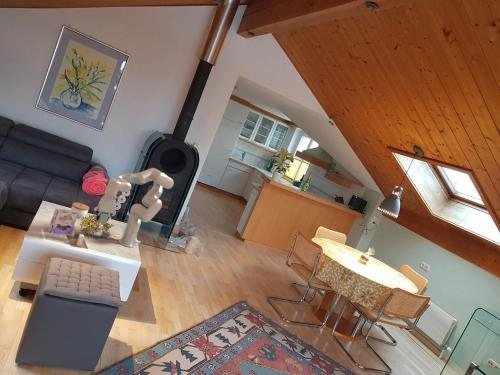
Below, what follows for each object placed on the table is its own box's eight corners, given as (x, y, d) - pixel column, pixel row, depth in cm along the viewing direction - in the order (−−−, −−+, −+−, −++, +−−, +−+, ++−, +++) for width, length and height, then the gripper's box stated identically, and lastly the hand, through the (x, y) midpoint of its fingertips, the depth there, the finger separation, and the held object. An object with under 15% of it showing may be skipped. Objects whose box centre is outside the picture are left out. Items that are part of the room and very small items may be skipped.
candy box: (49, 233, 257) (57, 210, 255) (47, 229, 261) (55, 207, 259) (70, 235, 267) (78, 214, 265) (68, 232, 271) (76, 210, 269)
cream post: (80, 244, 258) (83, 234, 257) (80, 246, 256) (84, 236, 255) (76, 243, 256) (79, 234, 256) (76, 245, 254) (80, 235, 253)
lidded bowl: (66, 212, 306) (71, 199, 304) (82, 214, 315) (87, 201, 313) (71, 218, 297) (76, 205, 296) (87, 220, 306) (92, 207, 304)
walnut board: (82, 238, 271) (84, 232, 270) (87, 249, 256) (90, 243, 256) (66, 235, 264) (68, 229, 263) (70, 247, 250) (72, 240, 249)
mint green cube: (104, 220, 267) (107, 212, 266) (105, 223, 263) (109, 215, 262) (96, 219, 264) (99, 210, 263) (98, 222, 260) (101, 213, 259)
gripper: (120, 197, 269) (112, 220, 272) (95, 192, 259) (87, 216, 261) (123, 200, 263) (115, 225, 266) (98, 195, 253) (89, 221, 255)
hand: (101, 220), depth 263 cm, fingers closed on mint green cube, 5 cm apart
